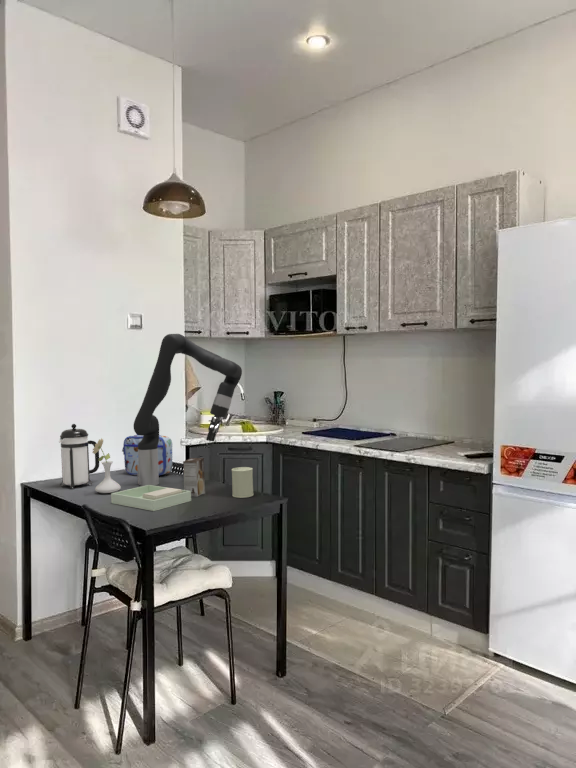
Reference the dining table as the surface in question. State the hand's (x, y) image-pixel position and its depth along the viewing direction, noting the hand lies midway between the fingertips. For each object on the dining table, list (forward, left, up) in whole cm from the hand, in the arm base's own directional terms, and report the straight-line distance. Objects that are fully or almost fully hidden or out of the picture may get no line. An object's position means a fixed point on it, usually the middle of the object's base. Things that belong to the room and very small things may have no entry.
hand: (209, 440), depth 274 cm
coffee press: (-69, -20, -23) cm, 76 cm away
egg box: (0, -28, -22) cm, 36 cm away
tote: (-7, -28, -23) cm, 37 cm away
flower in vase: (-43, -23, -23) cm, 54 cm away
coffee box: (-2, -8, -23) cm, 25 cm away
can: (+15, +4, -23) cm, 28 cm away
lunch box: (-61, +16, -24) cm, 67 cm away
